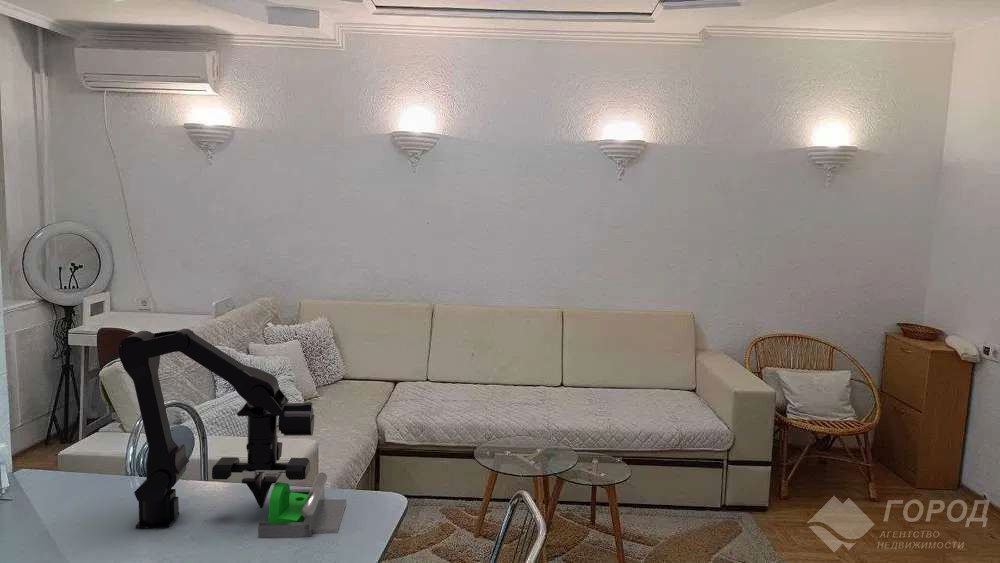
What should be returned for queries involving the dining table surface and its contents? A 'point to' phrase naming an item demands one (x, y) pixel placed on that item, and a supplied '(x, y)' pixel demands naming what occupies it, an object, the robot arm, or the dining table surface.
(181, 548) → the dining table surface
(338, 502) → the bracket
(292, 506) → the mechanical part
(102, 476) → the dining table surface
